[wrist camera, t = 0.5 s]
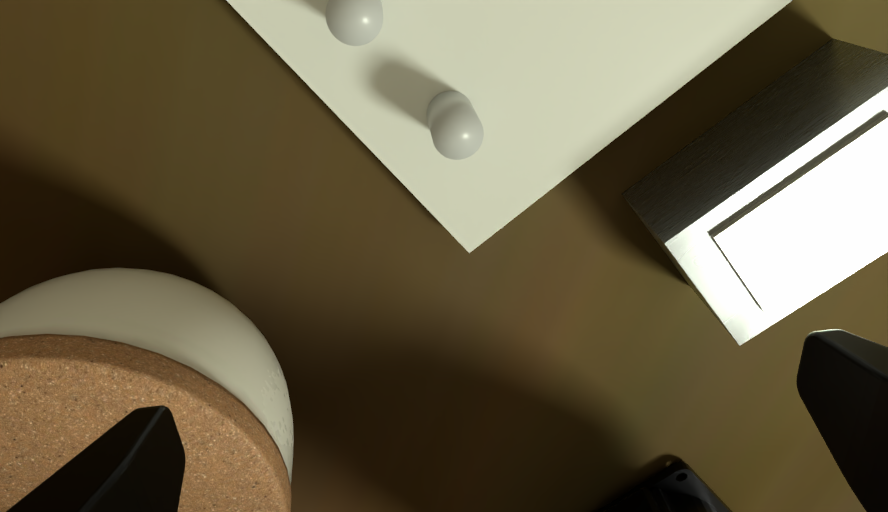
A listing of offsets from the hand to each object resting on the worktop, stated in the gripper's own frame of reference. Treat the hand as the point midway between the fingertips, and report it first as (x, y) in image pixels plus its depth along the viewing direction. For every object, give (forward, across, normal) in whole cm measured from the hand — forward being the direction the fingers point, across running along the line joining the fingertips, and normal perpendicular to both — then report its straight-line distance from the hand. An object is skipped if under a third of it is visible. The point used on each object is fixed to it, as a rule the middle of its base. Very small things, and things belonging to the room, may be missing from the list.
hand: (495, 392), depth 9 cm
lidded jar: (+13, +10, +7) cm, 18 cm away
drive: (+14, -11, +3) cm, 18 cm away
